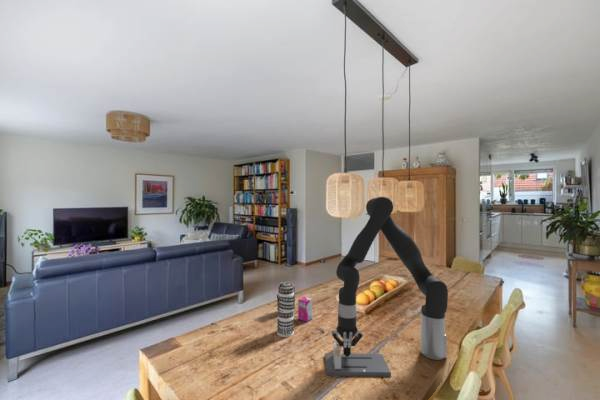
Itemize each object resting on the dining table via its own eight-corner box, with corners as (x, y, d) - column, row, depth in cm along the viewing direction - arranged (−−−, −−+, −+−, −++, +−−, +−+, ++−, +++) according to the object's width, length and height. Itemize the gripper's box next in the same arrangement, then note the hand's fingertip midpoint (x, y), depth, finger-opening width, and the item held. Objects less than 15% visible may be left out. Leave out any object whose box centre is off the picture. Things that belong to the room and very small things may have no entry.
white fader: (339, 354, 112) (339, 341, 112) (340, 359, 108) (340, 347, 108) (333, 354, 112) (333, 341, 112) (334, 359, 108) (334, 347, 108)
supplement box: (304, 316, 153) (304, 296, 153) (312, 319, 149) (312, 298, 149) (297, 319, 148) (297, 299, 148) (306, 322, 144) (306, 301, 144)
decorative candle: (273, 335, 131) (273, 284, 131) (281, 327, 139) (281, 279, 139) (290, 339, 128) (291, 286, 128) (297, 330, 136) (297, 281, 136)
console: (381, 357, 113) (381, 353, 113) (391, 376, 101) (391, 372, 101) (325, 356, 113) (325, 353, 113) (327, 375, 101) (327, 371, 101)
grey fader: (339, 362, 106) (339, 349, 106) (341, 369, 102) (341, 355, 102) (333, 362, 106) (333, 349, 106) (334, 369, 102) (334, 355, 102)
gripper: (361, 309, 114) (360, 350, 114) (330, 309, 114) (329, 350, 114) (365, 317, 106) (365, 361, 106) (332, 317, 106) (331, 360, 107)
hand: (346, 355), depth 110 cm, fingers closed
